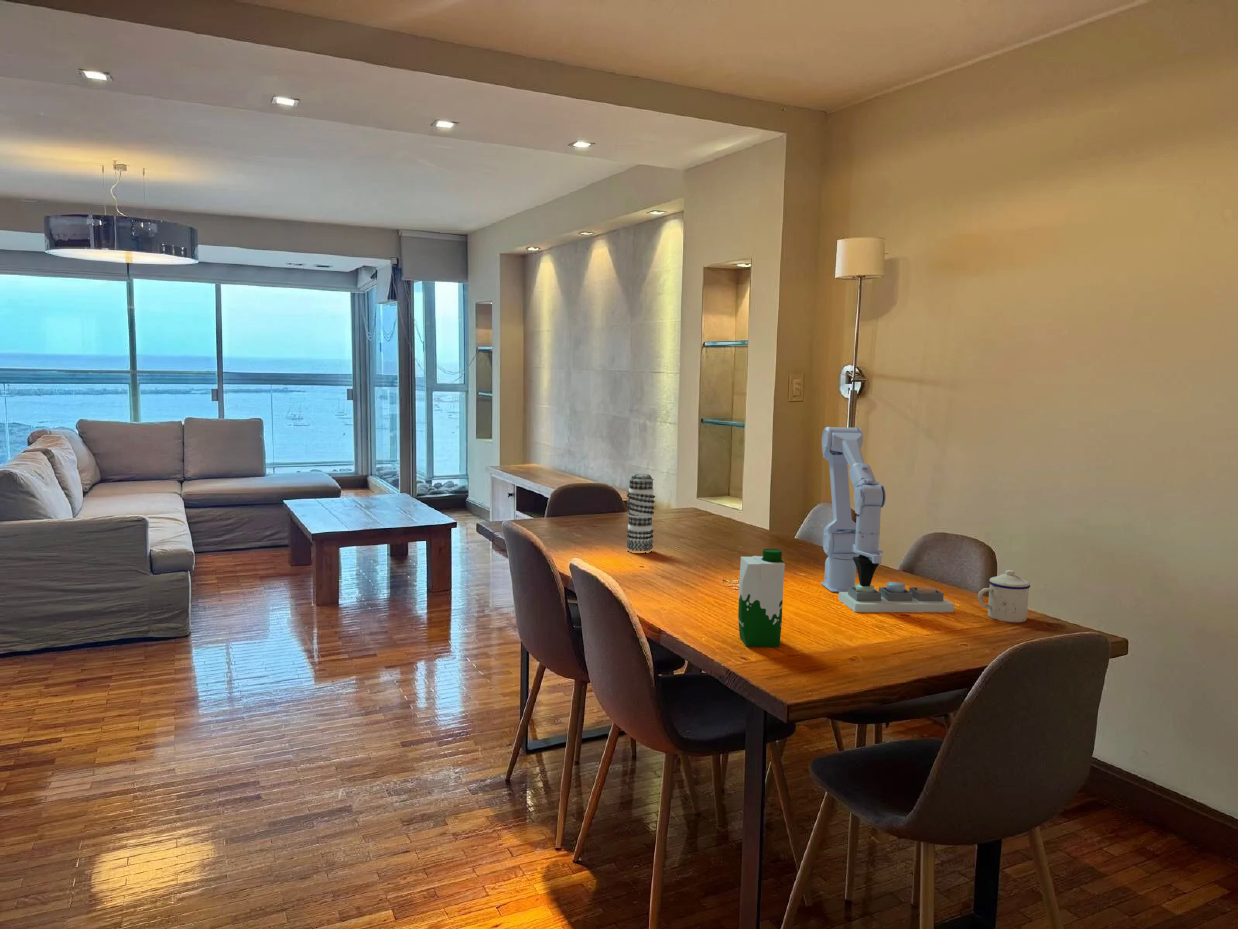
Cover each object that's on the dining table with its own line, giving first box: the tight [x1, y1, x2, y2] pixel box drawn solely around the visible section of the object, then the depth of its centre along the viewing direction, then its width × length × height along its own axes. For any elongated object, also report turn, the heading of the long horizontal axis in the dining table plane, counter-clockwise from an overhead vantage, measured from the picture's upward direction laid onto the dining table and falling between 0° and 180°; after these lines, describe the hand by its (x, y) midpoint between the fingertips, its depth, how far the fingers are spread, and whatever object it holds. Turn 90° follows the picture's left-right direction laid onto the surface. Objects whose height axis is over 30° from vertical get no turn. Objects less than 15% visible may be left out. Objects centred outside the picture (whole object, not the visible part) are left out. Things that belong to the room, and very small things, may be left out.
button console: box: [838, 586, 955, 613], centre depth 215 cm, size 12×25×4 cm, turn 95°
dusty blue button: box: [886, 581, 906, 593], centre depth 215 cm, size 4×4×2 cm
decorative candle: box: [626, 473, 656, 551], centre depth 275 cm, size 9×9×25 cm
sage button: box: [855, 583, 875, 593], centre depth 214 cm, size 4×4×2 cm
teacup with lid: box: [977, 569, 1031, 624], centre depth 206 cm, size 12×9×12 cm
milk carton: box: [737, 548, 786, 648], centre depth 182 cm, size 9×9×20 cm
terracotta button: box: [917, 586, 936, 593], centre depth 216 cm, size 4×4×2 cm
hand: (865, 585), depth 214 cm, fingers closed, pressing on sage button
